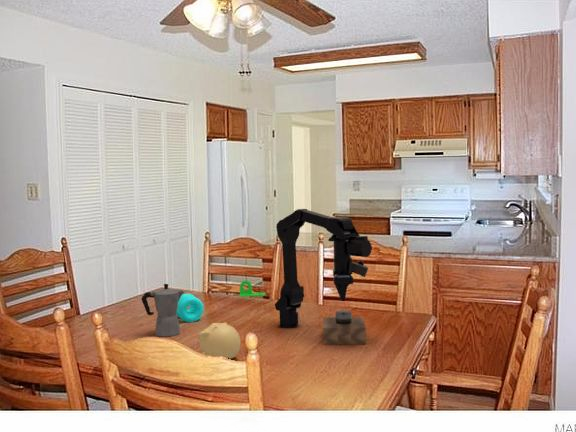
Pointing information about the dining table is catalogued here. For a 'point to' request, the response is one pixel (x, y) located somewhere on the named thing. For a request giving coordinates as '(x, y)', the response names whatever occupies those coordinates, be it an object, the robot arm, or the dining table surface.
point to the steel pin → (343, 317)
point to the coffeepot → (165, 310)
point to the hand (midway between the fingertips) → (343, 300)
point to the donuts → (193, 311)
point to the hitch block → (344, 331)
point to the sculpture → (220, 340)
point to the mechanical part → (248, 290)
